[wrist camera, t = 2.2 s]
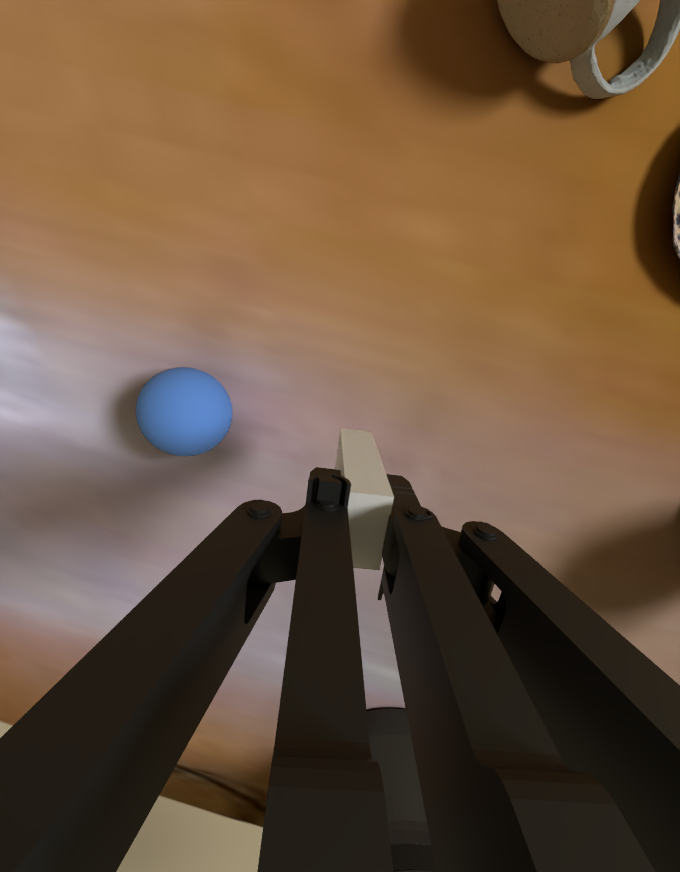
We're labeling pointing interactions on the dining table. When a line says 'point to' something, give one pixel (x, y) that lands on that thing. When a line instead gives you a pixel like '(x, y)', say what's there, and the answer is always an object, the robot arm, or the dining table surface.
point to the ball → (183, 411)
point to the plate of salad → (676, 219)
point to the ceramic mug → (587, 37)
